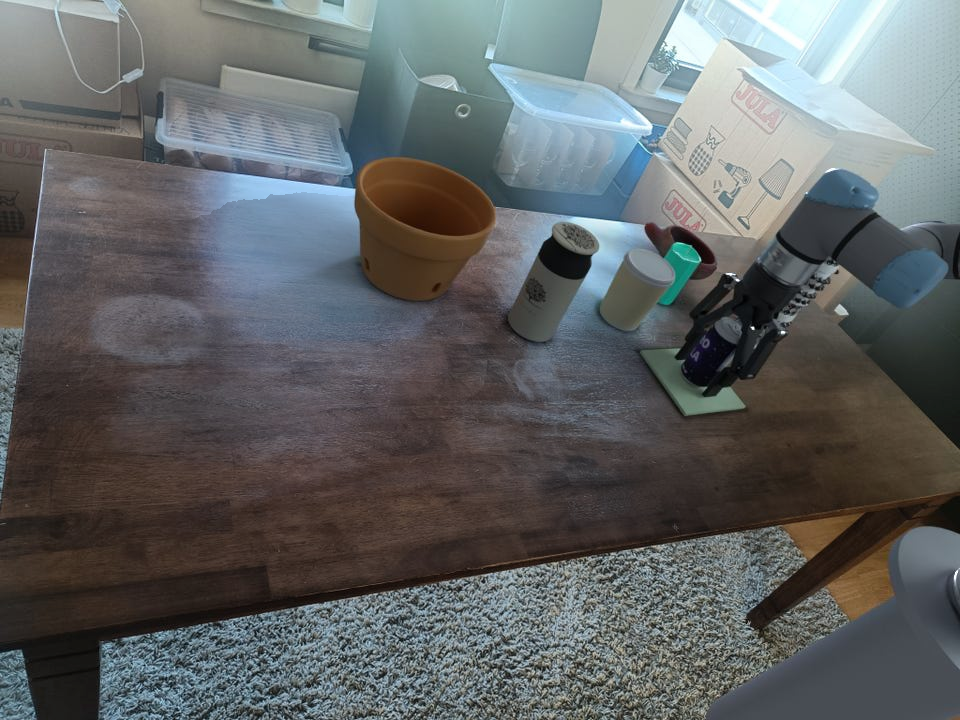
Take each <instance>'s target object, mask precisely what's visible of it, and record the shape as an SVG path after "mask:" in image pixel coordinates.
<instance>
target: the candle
mask: <svg viewBox="0 0 960 720" xmlns="http://www.w3.org/2000/svg"><path fill="white" fill-rule="evenodd" d="M664 259H665V260H666V261H667V262H668V263H669V264H670V265H671V266H672V268H673V269H674V272H675V280H674V283H673V284H672V285H671V286H670V287H669V288H668V289H667V291H666V292H665V293H664V294H663V296H662V297H661V298H660V300H659V301H658V302H657V304H661V305H665V306H669V305H671V304H672V303H673V302H674V300H675V299H676V298H677V297H678V295H679V293H680V292H681V290H682V289H683V287H684V286H685V285H686V284H687V282H688V280H690V279H689V278H690V276H691V275H692V273H693V272H694V270H695V269H696V268H697V266H698V265H699V263H700V262H701V258H700V256H699V255H698V253H697V252H696V251H695V250H694V249H693V248H692V245H691V246H690V245H687V244H684V243H678V242H676V243H674V244H673V245H672V247H671V248H670V250H669V251H668V253H667V254H666V256H665V257H664Z"/></svg>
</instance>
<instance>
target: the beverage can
mask: <svg viewBox="0 0 960 720" xmlns="http://www.w3.org/2000/svg"><path fill="white" fill-rule="evenodd" d="M735 319H736V318H733V317H730V316H729V317H722V318H721V319H720V320H718V321H716V322H715V323H714V324H713V325H712V326H710V328H708V330H707V331H708V332H707V333H706V334H705V336H704V337H703V338H702V339H701V341H700V342H699V343H698V344H697V346H696V347H695V348H694V350H693V351H692V352H691V353H690V355H689V356H688V357H687V359H686V360H685V361H684V362H683V364H682V365H681V371H682V375H683V377H684V379H685V380H686V381H687V382H688V383H689V384H691V385H693V386H695V387H708V386H709V385H710V383H711V382H712V381H713V380H714V379H715V378H716V376H717V375H718V374H719V373H720V372H721V371H722V369H723V368H724V367H728V365H729V364H730V363H731V362H732V360H733V357H734V354H735V351H736V348H737V345H738V342H739V339H740V337H741V334H742V332H741V327H742V324H741V323H740V322H739V321H737V320H735Z"/></svg>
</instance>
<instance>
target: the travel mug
mask: <svg viewBox="0 0 960 720" xmlns="http://www.w3.org/2000/svg"><path fill="white" fill-rule="evenodd" d="M600 246H601V245H600V243H599V240H598V238H597V237H596V236H595V234H593V233H592V232H590V230H589V229H587V228H585V227H583V226H581V225H579V224H577V223H574V222H569V221H558V222H556V223H554V224H553V225H552V227H551V236H549V237H548V238H547V239H545V240H544V241H543V242H542V244H541V246H540V248H539V251H538V252H537V254H536V256H535V259H534V260H533V263H532V265H531V267H530V269H529V272H528V273H527V275H526V277H525V280H524V282H523V284H522V286H521V287H520V290H519V292H518V294H517V296H516V298H515V300H514V302H513V305H512V307H511V309H510V311H509V313H508V316H507V320H508V323H509V325H510V328H512V329H513V331H514V332H516V333H517V334H518V335H519V336H521V337H522V338H524V339H526V340H528V341H532V342H537V343H540V342H548V341H549V340H551V339H552V338H553V336H554V334H555V333H556V330H557V329H558V328H559V325H560V324H561V322H562V320H563V318H564V316H565V315H566V313H567V311H568V309H569V308H570V306H571V304H572V302H573V301H574V299H575V296H577V294H578V291H579V290H580V288H581V286H582V284H583V282H584V281H585V279H586V277H587V275H588V274H589V272H590V270H591V268H592V264H593V260H592V257H593V256H594V255H595V254H596V253H598V252H599V250H600V248H601V247H600Z"/></svg>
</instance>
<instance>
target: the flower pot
mask: <svg viewBox="0 0 960 720" xmlns="http://www.w3.org/2000/svg"><path fill="white" fill-rule="evenodd" d="M353 201H354V203H353V204H354V211H355V215H356V217H357V218H358V223H359V224H358V225H359V226H358V227H359V251H360V264H361V269H362V271H363V274H364V275H365V277H366V278H367V280H368V281H369V282H370V283H371V284H372V285H374V287H376V288H377V289H379V290H381V291H382V292H383V293H386V294H387V295H389V296H392V297H395V298H397V299H401V300H404V301H405V300H406V301H411V302H425V301H426V302H427V301H430V300H435V299H437V298H439V297H441V296H443V294H445V293H446V292H447V291H448V289H449V288H450V286H452V284H453V283H454V281H456V278H457V277H458V276H459V274H460V273H461V272H462V270H463V269H464V267H465V266H466V265H467V263H468V262H469V261H470V259H471V258H472V257H473V256H475V255H477V254H478V253H479V252H480V251H481V250H482V249H483V248H484V246H485V245H486V243H487V241H488V239H489V237H490V235H491V233H492V231H493V229H494V227H495V224H496V221H497V211H496V207H495V206H494V204H493V202H492V200H491V199H490V197H489V196H488V195H487V193H486V192H484V190H483V189H481V188H480V187H479V186H478V185H477V184H475V183H474V182H473V181H471V180H470V179H468V178H466V177H465V176H463V175H461V174H460V173H458V172H456V171H454V170H452V169H449V168H447V167H445V166H443V165H439V164H436V163H434V162H431V161H426V160H423V159H417V158H411V157H403V156H391V157H390V156H389V157H382V158H378V159H374V160H371V161H369V162H367V163H366V164H364V165H363V166H362V167H361V168H360V170H359V171H358V173H357V176H356V181H355V189H354V200H353Z"/></svg>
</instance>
